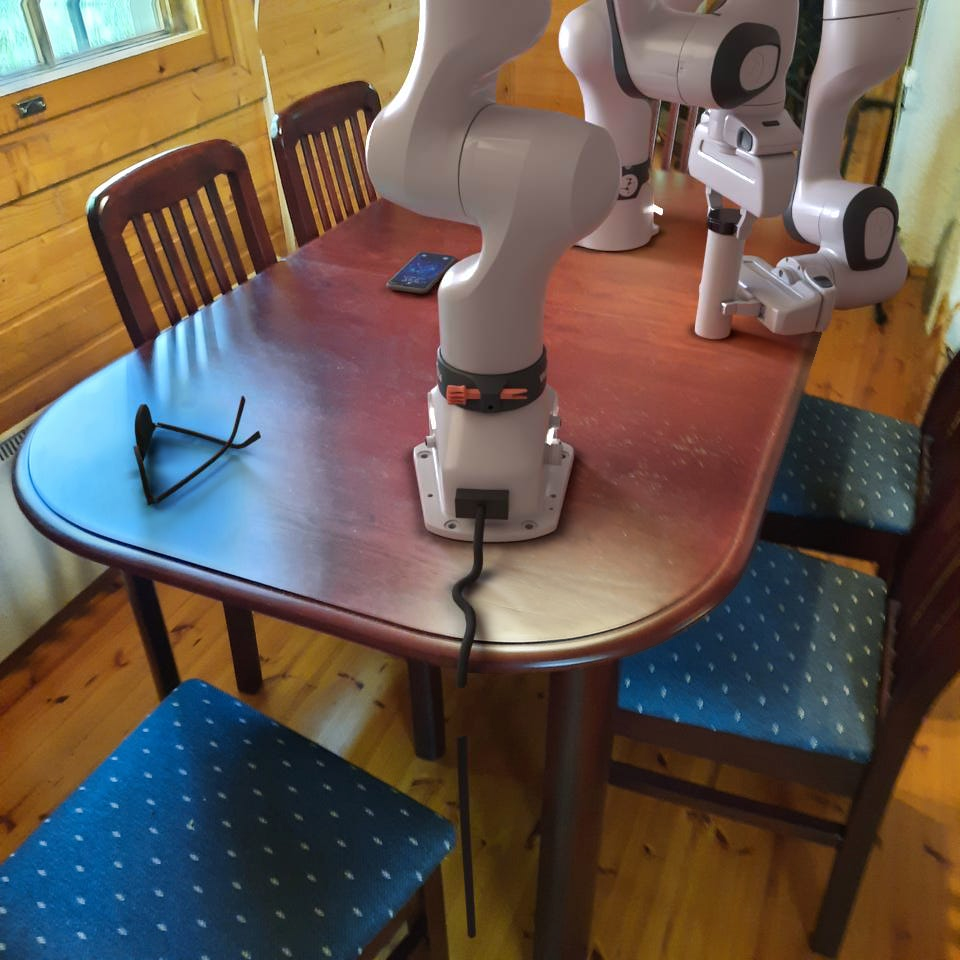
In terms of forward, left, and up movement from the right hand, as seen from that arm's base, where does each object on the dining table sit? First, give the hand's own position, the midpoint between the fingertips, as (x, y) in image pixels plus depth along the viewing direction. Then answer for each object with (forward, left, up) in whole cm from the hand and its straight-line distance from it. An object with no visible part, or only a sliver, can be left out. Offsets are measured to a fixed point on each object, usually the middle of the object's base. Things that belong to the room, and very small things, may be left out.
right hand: (711, 299), depth 122 cm
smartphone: (-33, -35, -5) cm, 49 cm away
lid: (0, +1, +12) cm, 12 cm away
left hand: (0, +1, +10) cm, 10 cm away
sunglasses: (+12, -72, -5) cm, 73 cm away
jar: (0, +1, -5) cm, 5 cm away
